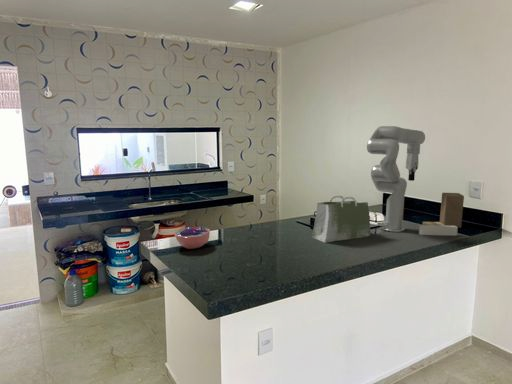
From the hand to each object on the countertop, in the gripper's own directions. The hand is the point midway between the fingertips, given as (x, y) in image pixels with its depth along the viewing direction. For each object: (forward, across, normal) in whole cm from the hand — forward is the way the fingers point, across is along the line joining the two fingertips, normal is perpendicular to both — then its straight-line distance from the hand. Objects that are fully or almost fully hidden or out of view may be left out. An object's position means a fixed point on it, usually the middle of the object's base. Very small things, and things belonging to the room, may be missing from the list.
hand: (411, 180), depth 242 cm
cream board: (+27, +29, +7) cm, 41 cm away
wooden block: (+27, +8, +23) cm, 37 cm away
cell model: (+27, +62, -127) cm, 144 cm away
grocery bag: (+27, +37, -49) cm, 67 cm away
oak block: (+27, +23, +7) cm, 36 cm away
